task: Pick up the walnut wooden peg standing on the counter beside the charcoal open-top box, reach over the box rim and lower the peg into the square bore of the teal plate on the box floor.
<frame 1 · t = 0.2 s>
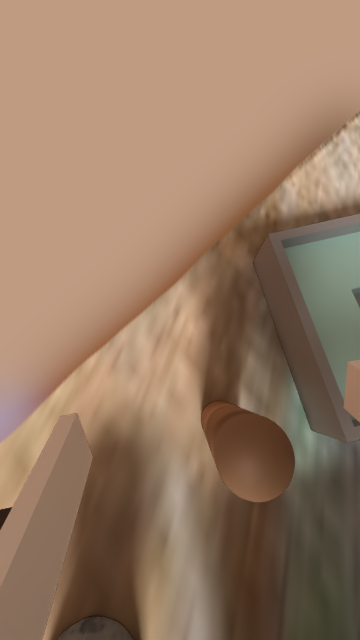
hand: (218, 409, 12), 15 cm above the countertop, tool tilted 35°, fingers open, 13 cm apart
walnut peg: (219, 420, 26), on the countertop
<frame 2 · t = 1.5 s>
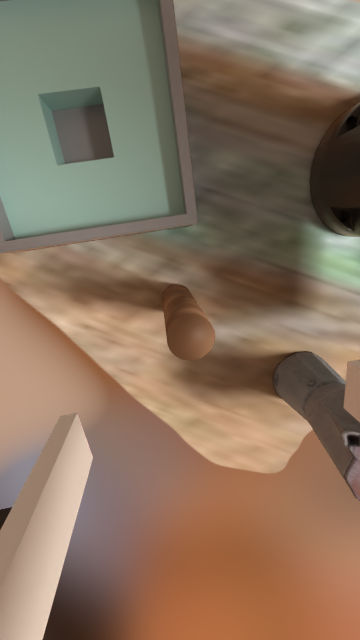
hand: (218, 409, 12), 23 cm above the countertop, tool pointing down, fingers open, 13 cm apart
walnut peg: (177, 298, 33), on the countertop
bore box: (88, 143, 27), on the countertop
moka pot: (300, 375, 39), on the countertop
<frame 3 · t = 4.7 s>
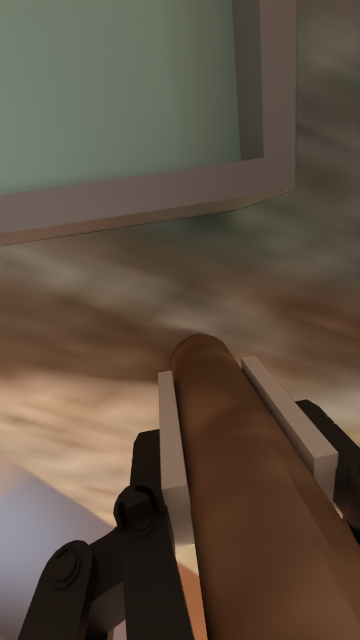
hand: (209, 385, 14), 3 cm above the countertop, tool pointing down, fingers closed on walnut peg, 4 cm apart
walnut peg: (200, 362, 16), on the countertop, touching gripper
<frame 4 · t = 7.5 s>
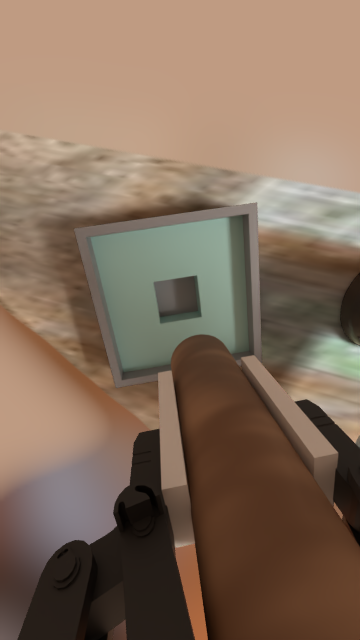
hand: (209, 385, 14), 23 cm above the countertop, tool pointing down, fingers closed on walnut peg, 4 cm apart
walnut peg: (200, 361, 16), point 20 cm above the countertop, touching gripper
bore box: (175, 293, 35), on the countertop
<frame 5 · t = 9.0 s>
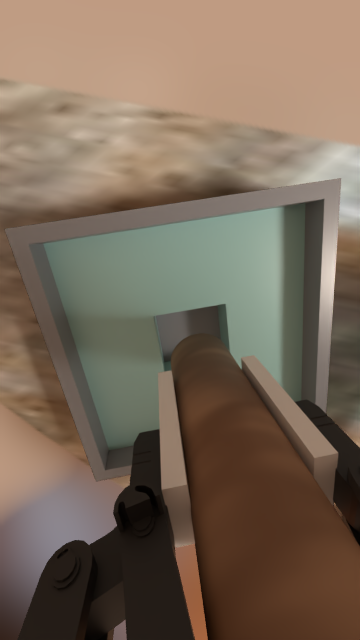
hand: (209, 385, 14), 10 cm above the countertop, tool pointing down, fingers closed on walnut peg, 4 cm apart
walnut peg: (199, 360, 16), point 7 cm above the countertop, touching gripper
bore box: (187, 326, 23), on the countertop
when the fingers open (6 cm above the countertop, at t = 10.4 s): walnut peg drops 1 cm, resting on bore box.
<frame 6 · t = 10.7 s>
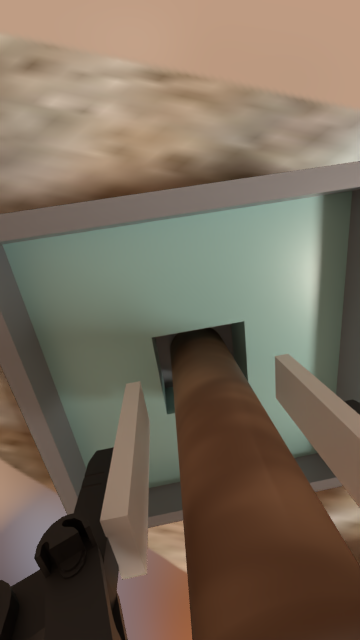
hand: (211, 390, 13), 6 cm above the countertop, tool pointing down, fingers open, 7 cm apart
walnut peg: (197, 350, 18), point 1 cm above the countertop, touching bore box
bore box: (193, 344, 19), on the countertop
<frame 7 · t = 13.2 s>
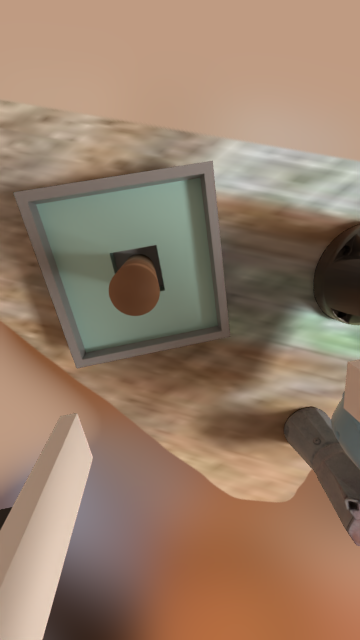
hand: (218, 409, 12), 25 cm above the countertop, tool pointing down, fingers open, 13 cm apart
walnut peg: (139, 269, 32), point 1 cm above the countertop, touching bore box
bore box: (139, 268, 33), on the countertop
moka pot: (306, 424, 47), on the countertop
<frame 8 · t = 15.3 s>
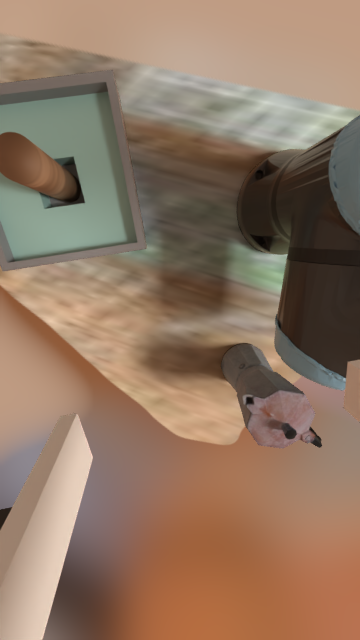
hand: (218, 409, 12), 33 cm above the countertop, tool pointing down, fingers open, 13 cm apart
walnut peg: (66, 187, 35), point 1 cm above the countertop, touching bore box
bore box: (68, 188, 36), on the countertop
moka pot: (243, 362, 49), on the countertop
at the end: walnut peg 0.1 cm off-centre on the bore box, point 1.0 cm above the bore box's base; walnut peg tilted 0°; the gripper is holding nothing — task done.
